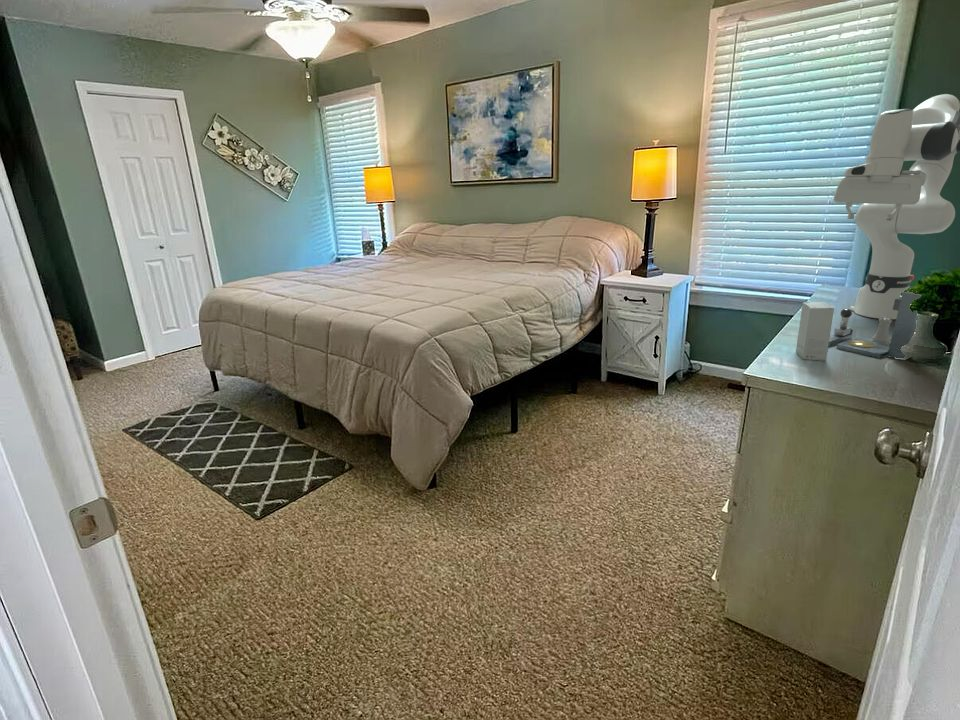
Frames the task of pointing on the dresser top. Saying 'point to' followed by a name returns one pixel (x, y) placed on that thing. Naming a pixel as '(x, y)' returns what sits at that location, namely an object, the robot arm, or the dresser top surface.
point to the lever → (844, 323)
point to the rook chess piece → (882, 331)
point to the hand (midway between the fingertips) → (869, 219)
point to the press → (900, 335)
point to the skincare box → (814, 330)
